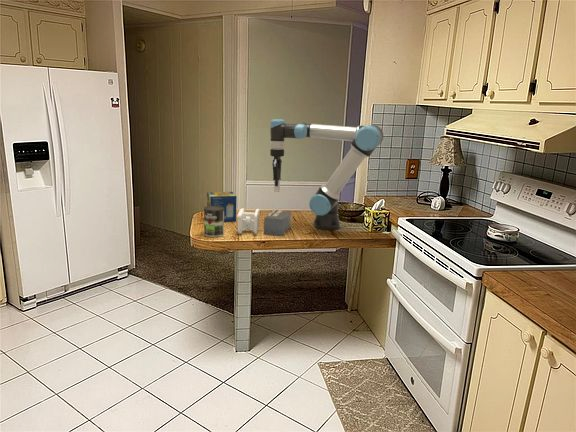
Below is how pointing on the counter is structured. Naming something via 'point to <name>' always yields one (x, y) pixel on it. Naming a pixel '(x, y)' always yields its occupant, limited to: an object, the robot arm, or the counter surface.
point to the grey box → (277, 222)
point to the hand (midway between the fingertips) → (276, 191)
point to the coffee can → (213, 221)
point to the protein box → (224, 203)
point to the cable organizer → (248, 221)
